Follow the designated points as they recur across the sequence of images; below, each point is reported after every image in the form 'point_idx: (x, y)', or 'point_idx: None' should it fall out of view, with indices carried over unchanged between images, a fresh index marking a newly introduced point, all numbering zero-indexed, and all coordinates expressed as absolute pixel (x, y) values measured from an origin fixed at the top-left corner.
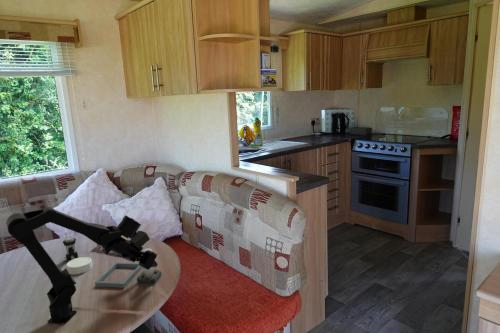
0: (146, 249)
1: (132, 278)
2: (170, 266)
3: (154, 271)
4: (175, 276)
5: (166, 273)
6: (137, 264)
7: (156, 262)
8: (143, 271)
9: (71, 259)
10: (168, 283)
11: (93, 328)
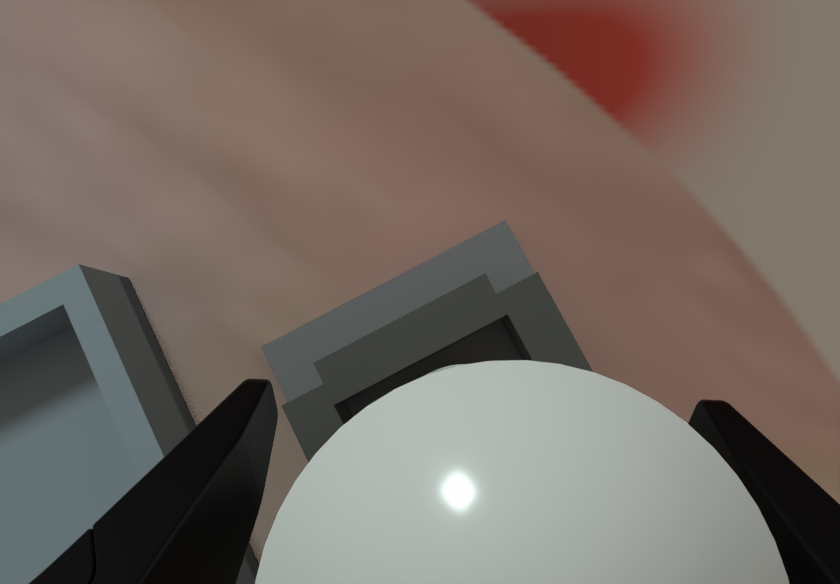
0: (388, 538)
1: (246, 574)
2: (406, 43)
3: (458, 337)
4: (672, 179)
5: (506, 191)
6: (31, 324)
7: (792, 462)
8: (306, 432)
9: None
10: (737, 348)
11: None
